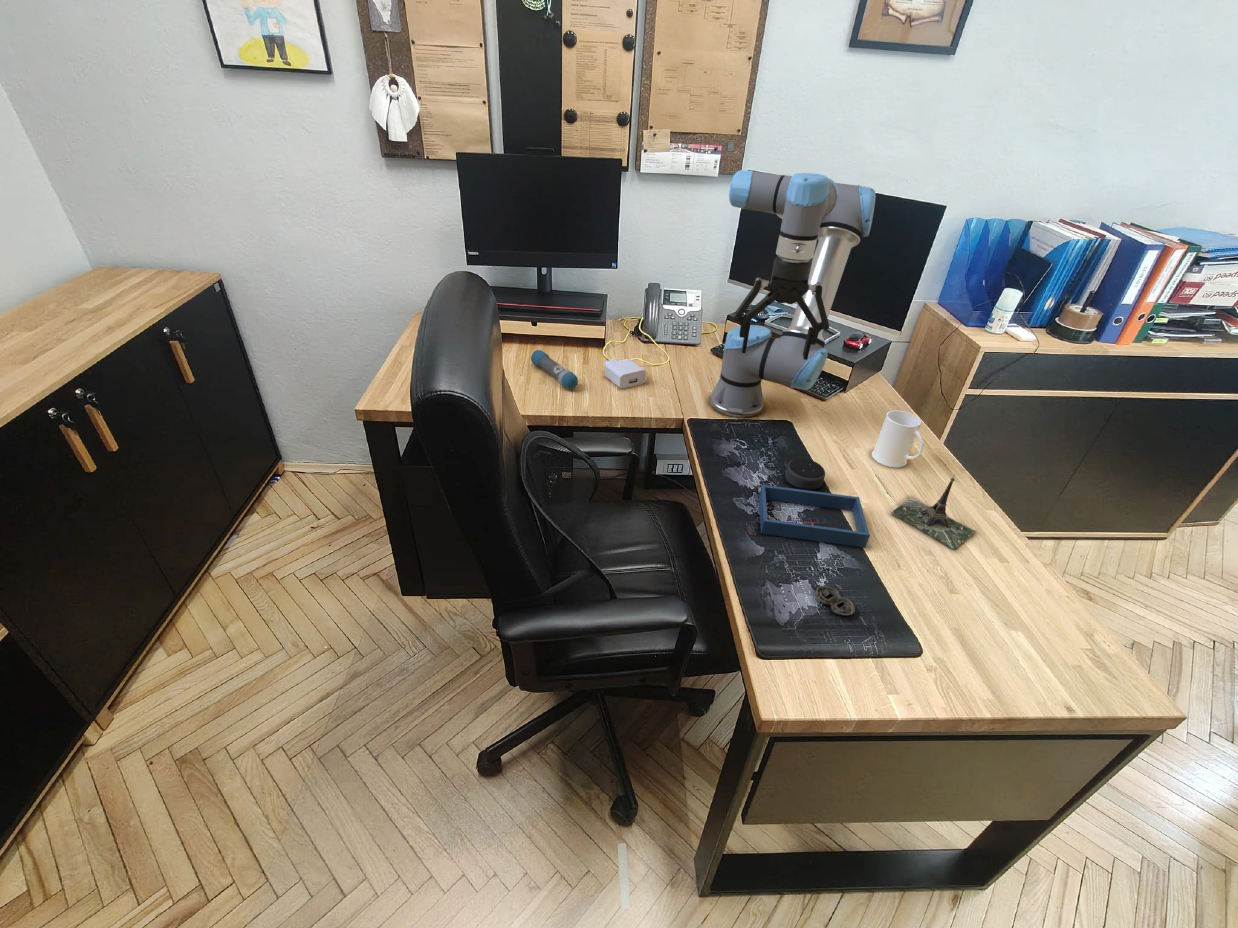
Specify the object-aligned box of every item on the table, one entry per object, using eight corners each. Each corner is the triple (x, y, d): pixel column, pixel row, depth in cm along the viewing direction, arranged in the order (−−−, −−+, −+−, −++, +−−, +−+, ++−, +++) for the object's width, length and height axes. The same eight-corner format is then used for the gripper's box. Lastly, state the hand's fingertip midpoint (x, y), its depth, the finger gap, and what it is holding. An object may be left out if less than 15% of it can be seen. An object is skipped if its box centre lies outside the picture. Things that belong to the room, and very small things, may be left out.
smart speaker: (777, 480, 142) (780, 467, 140) (795, 466, 148) (799, 452, 146) (810, 497, 138) (814, 483, 135) (828, 481, 143) (832, 467, 141)
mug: (923, 471, 148) (940, 430, 141) (897, 477, 146) (913, 436, 139) (890, 447, 157) (904, 407, 150) (864, 452, 154) (878, 412, 148)
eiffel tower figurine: (888, 514, 133) (907, 465, 126) (911, 498, 139) (930, 450, 131) (953, 551, 124) (978, 501, 116) (975, 532, 130) (1000, 483, 122)
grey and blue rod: (544, 362, 191) (544, 348, 188) (580, 389, 177) (581, 374, 174) (530, 366, 188) (530, 351, 186) (566, 393, 174) (566, 378, 171)
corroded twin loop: (842, 623, 107) (844, 619, 106) (808, 594, 112) (809, 591, 111) (860, 611, 109) (861, 607, 108) (825, 584, 114) (826, 580, 114)
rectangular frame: (758, 496, 137) (761, 484, 135) (854, 509, 135) (859, 496, 133) (760, 533, 126) (763, 520, 124) (865, 547, 124) (870, 535, 122)
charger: (620, 364, 192) (645, 383, 182) (595, 370, 188) (619, 389, 178) (620, 351, 189) (646, 369, 179) (595, 356, 185) (620, 375, 175)
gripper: (732, 257, 119) (718, 355, 132) (859, 268, 117) (833, 367, 129) (732, 248, 126) (718, 341, 138) (853, 258, 123) (828, 353, 135)
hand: (774, 354), depth 133 cm, fingers open, 13 cm apart
